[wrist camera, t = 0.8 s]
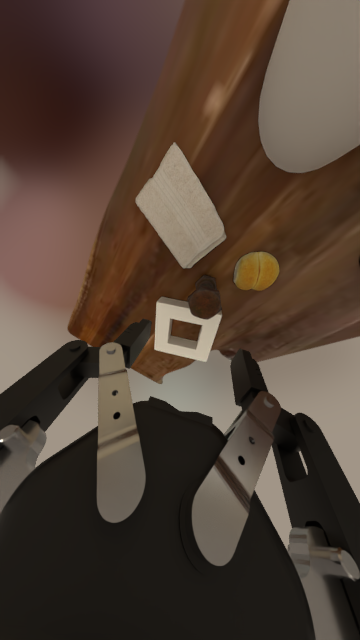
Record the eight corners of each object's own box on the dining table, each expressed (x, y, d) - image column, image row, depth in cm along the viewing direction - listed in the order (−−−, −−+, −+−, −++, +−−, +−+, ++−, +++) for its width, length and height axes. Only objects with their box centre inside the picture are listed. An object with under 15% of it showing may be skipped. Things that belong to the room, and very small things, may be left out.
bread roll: (269, 289, 33) (276, 295, 30) (230, 287, 35) (233, 292, 31) (282, 251, 29) (291, 252, 26) (237, 251, 30) (241, 252, 27)
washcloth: (187, 271, 35) (185, 273, 32) (136, 203, 30) (128, 199, 27) (229, 235, 30) (231, 235, 27) (176, 145, 25) (172, 134, 22)
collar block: (220, 308, 38) (222, 315, 34) (206, 353, 46) (206, 362, 43) (161, 296, 39) (156, 301, 36) (158, 341, 48) (154, 349, 45)
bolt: (204, 295, 37) (201, 325, 24) (191, 281, 35) (180, 305, 23) (222, 280, 34) (229, 305, 21) (209, 265, 33) (208, 281, 20)
